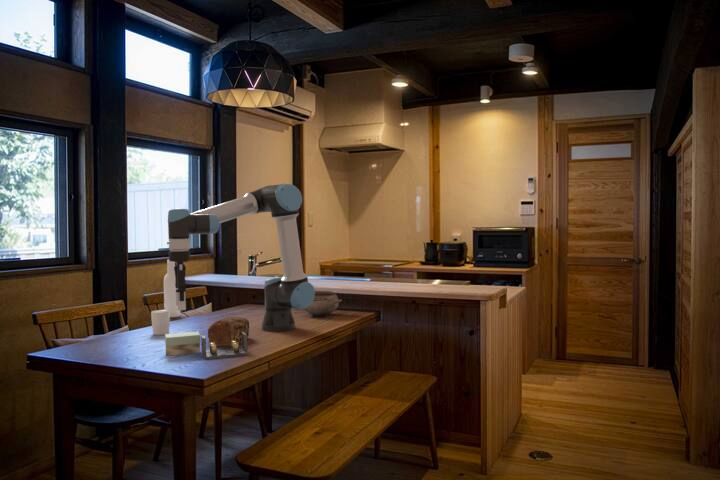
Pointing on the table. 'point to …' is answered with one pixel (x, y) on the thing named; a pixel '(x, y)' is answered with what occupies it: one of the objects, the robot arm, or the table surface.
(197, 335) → the board
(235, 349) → the chassis
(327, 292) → the cooking pot
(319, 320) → the table surface
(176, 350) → the stand
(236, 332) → the bread
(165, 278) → the bottle
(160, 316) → the white cup
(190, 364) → the table surface
